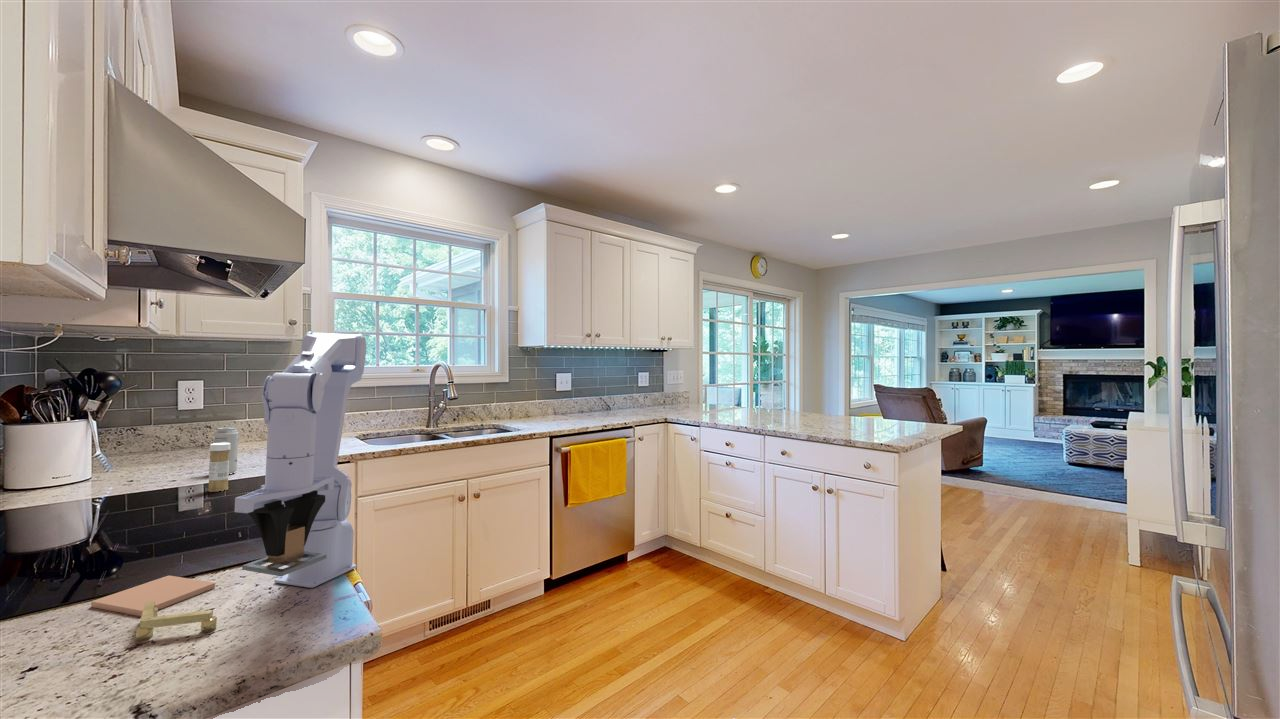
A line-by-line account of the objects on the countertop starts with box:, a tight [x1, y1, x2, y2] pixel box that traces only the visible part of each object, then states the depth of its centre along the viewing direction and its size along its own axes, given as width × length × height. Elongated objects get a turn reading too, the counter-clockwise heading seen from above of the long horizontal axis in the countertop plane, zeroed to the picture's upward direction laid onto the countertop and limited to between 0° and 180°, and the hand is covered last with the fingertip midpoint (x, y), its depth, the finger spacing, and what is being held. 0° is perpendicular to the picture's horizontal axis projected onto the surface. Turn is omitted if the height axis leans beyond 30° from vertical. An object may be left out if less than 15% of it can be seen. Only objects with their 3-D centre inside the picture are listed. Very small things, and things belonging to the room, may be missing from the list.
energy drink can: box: [213, 426, 240, 474], centre depth 164 cm, size 6×6×15 cm
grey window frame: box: [241, 524, 326, 577], centre depth 72 cm, size 7×7×5 cm
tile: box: [90, 575, 216, 617], centre depth 78 cm, size 10×10×1 cm
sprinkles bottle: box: [207, 442, 231, 493], centre depth 143 cm, size 5×5×14 cm
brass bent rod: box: [135, 601, 218, 642], centre depth 68 cm, size 6×12×2 cm, turn 77°
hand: (286, 550), depth 72 cm, fingers closed on grey window frame, 3 cm apart
